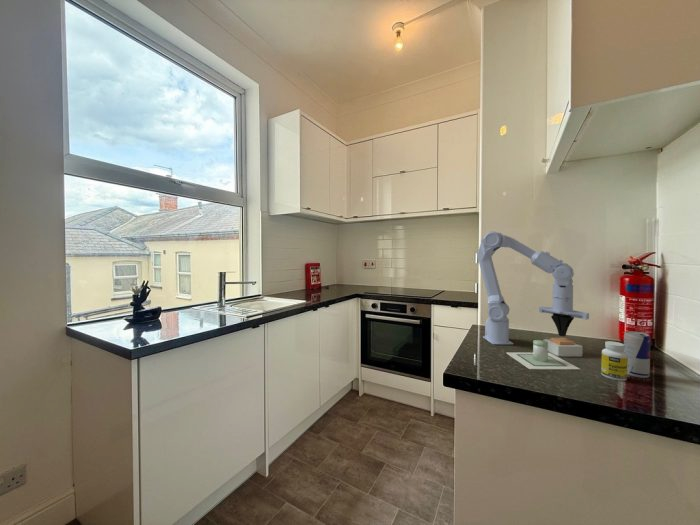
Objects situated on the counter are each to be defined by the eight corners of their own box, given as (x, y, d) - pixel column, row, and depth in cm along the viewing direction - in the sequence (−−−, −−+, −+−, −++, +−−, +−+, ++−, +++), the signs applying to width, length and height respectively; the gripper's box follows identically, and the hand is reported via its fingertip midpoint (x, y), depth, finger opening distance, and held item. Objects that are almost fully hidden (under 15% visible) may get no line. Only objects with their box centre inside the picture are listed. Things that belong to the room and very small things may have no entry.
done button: (550, 344, 102) (550, 337, 102) (564, 344, 102) (564, 337, 102) (559, 348, 98) (560, 341, 98) (574, 348, 97) (574, 341, 97)
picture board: (506, 353, 100) (506, 352, 100) (549, 353, 99) (549, 352, 99) (529, 369, 86) (529, 368, 86) (580, 369, 85) (580, 368, 85)
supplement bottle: (606, 379, 78) (607, 345, 78) (597, 372, 83) (598, 339, 83) (631, 382, 77) (632, 347, 76) (620, 374, 82) (621, 341, 81)
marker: (530, 357, 95) (530, 339, 94) (542, 357, 94) (542, 339, 94) (537, 362, 91) (538, 343, 90) (550, 362, 90) (550, 343, 90)
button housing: (543, 348, 104) (543, 339, 104) (565, 348, 104) (565, 339, 104) (558, 356, 96) (558, 346, 96) (582, 356, 96) (582, 346, 96)
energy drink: (655, 379, 79) (656, 336, 78) (632, 377, 80) (633, 335, 79) (639, 371, 84) (640, 331, 83) (618, 369, 85) (619, 330, 84)
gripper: (534, 296, 104) (534, 332, 104) (582, 301, 91) (582, 343, 92) (544, 294, 107) (544, 329, 108) (591, 299, 95) (591, 339, 95)
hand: (562, 335), depth 100 cm, fingers closed
